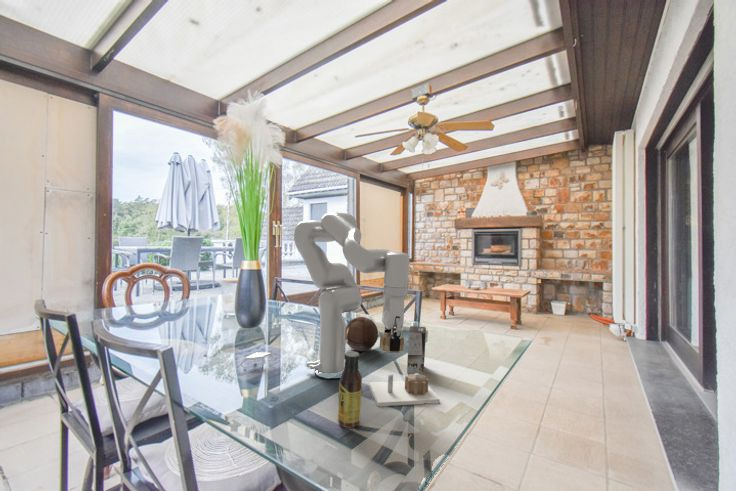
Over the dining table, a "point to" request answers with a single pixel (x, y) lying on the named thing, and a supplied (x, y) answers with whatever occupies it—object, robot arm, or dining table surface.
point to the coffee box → (416, 350)
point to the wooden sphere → (361, 333)
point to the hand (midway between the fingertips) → (391, 345)
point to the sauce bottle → (350, 392)
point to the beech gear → (386, 343)
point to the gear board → (403, 391)
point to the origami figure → (258, 357)
